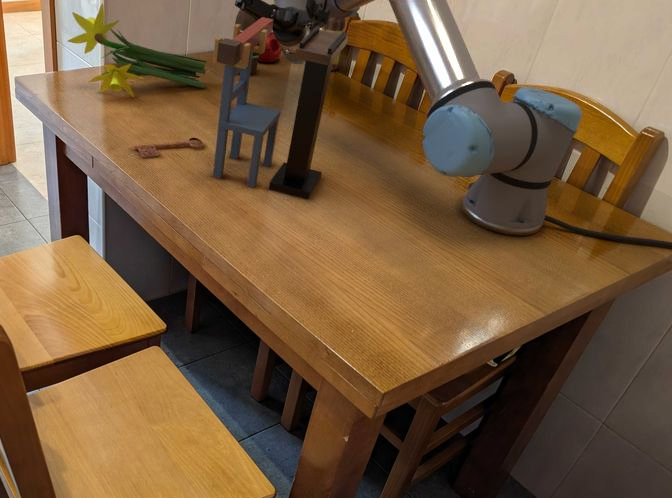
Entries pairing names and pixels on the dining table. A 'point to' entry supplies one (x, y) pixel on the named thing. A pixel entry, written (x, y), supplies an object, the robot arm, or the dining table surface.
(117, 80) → the daffodil flowers
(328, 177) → the dining table surface
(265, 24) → the hanger bar
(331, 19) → the sauce bottle
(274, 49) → the pomegranate
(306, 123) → the stand
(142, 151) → the key
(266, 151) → the chair
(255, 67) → the beer bottle
